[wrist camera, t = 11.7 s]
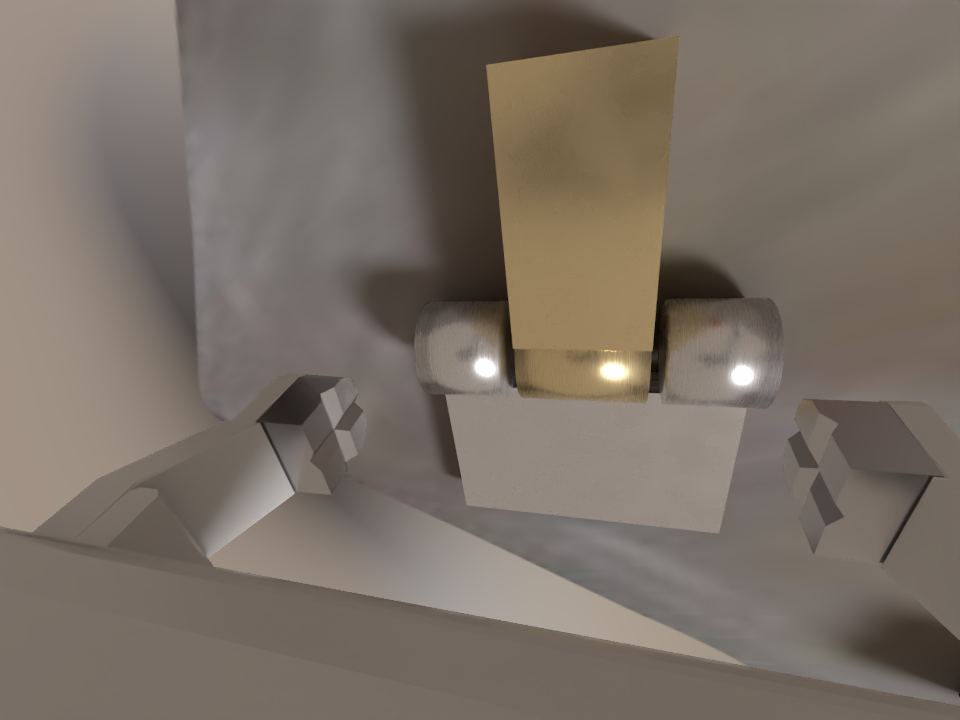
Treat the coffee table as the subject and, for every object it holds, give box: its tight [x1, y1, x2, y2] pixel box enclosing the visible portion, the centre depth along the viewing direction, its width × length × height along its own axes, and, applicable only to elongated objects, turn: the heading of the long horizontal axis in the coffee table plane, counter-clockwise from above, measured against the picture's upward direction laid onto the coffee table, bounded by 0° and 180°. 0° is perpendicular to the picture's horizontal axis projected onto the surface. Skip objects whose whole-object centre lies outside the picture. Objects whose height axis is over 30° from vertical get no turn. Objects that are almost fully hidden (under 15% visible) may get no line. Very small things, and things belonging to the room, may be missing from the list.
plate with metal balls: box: [414, 298, 784, 533], centre depth 26 cm, size 16×16×5 cm
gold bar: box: [486, 36, 679, 404], centre depth 20 cm, size 6×15×5 cm, turn 7°
